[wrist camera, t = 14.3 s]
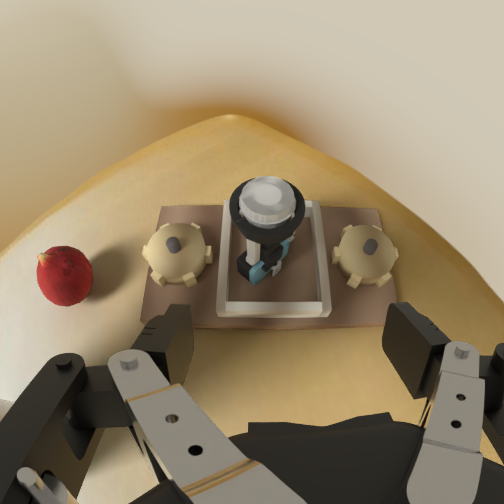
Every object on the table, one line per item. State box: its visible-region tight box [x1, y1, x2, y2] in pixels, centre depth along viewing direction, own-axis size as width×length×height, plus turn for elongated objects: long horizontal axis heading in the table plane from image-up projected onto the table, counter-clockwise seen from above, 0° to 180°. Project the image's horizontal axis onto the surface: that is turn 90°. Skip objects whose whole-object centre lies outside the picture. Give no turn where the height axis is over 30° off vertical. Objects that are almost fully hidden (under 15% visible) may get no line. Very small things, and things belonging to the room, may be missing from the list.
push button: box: [229, 176, 305, 286], centre depth 25 cm, size 7×5×10 cm
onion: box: [37, 246, 93, 306], centre depth 26 cm, size 6×6×8 cm
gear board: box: [140, 200, 399, 329], centre depth 29 cm, size 25×13×4 cm, turn 89°
